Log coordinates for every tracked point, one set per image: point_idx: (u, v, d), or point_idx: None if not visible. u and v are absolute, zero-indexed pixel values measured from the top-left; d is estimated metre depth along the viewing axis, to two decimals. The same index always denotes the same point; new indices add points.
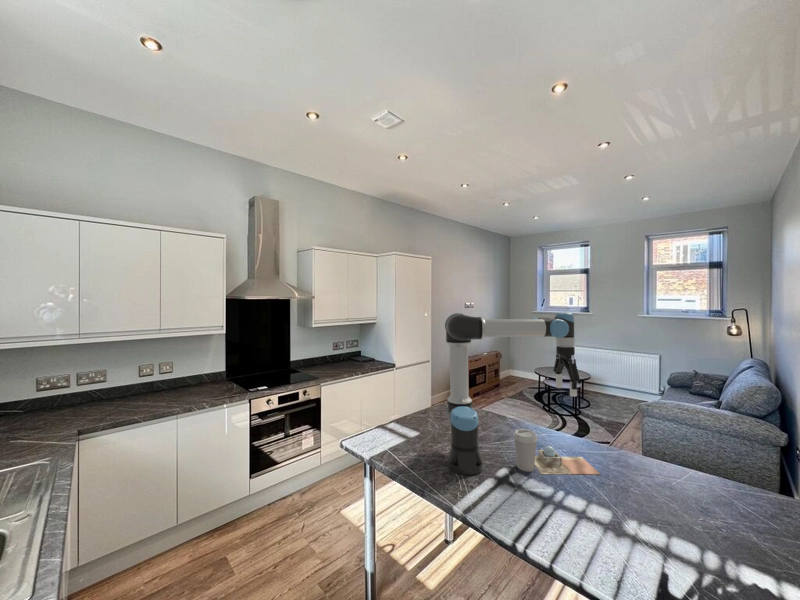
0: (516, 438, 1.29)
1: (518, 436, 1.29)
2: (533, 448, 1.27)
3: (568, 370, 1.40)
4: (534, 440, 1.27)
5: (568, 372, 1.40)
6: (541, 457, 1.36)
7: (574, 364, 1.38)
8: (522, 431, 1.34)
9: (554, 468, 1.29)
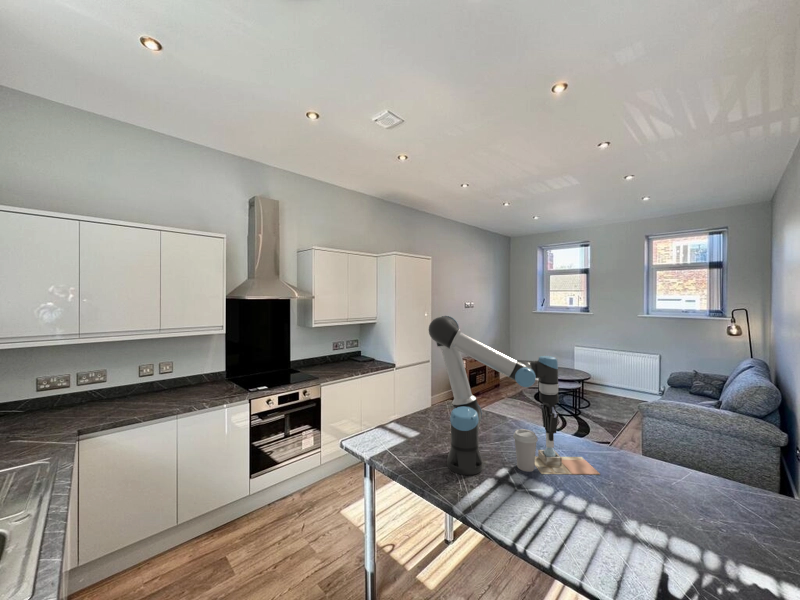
0: (516, 438, 1.29)
1: (518, 436, 1.29)
2: (533, 448, 1.27)
3: (548, 421, 1.34)
4: (534, 440, 1.27)
5: (547, 422, 1.34)
6: (541, 457, 1.36)
7: (555, 418, 1.30)
8: (522, 431, 1.34)
9: (554, 468, 1.29)
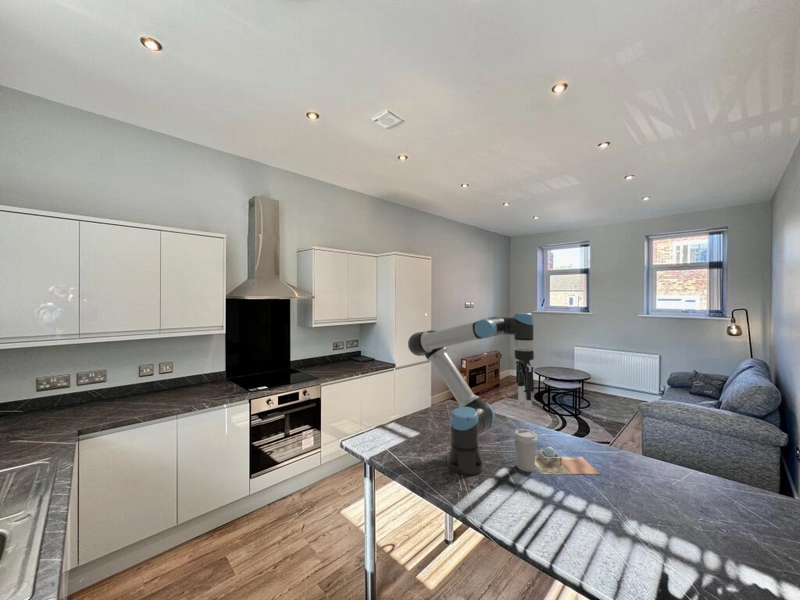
0: (516, 438, 1.29)
1: (518, 436, 1.29)
2: (533, 448, 1.27)
3: (524, 378, 1.28)
4: (534, 440, 1.27)
5: (524, 380, 1.28)
6: (541, 457, 1.36)
7: (531, 373, 1.25)
8: (522, 431, 1.34)
9: (554, 468, 1.29)
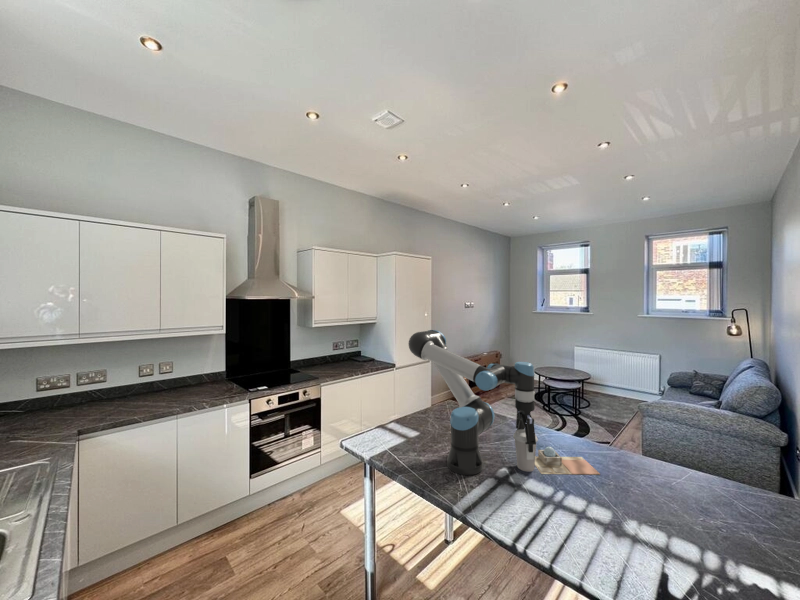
0: (516, 438, 1.29)
1: (518, 436, 1.29)
2: None
3: (525, 429, 1.27)
4: None
5: (525, 431, 1.27)
6: (541, 457, 1.36)
7: (532, 424, 1.24)
8: (522, 431, 1.34)
9: (554, 468, 1.29)
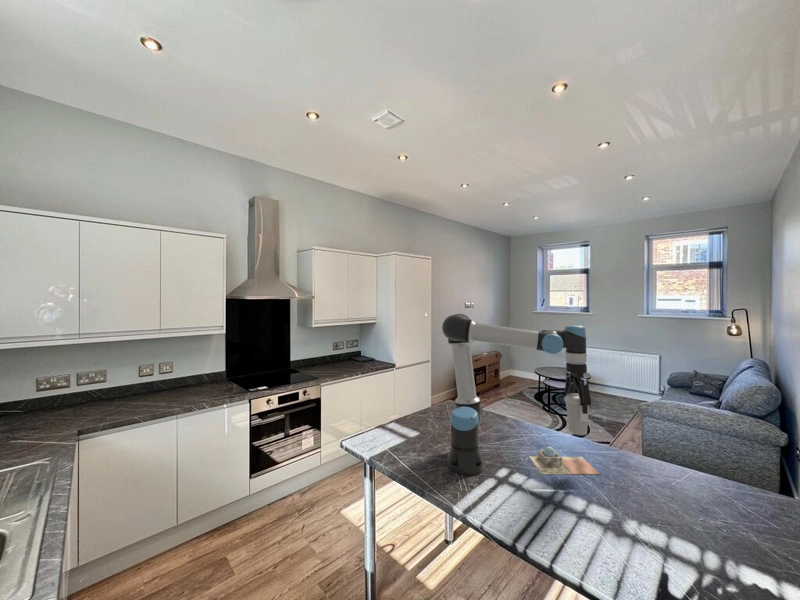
0: (568, 401, 1.29)
1: (571, 399, 1.28)
2: None
3: (579, 391, 1.26)
4: None
5: (579, 393, 1.26)
6: (541, 457, 1.36)
7: (586, 386, 1.24)
8: (573, 395, 1.34)
9: (554, 468, 1.29)
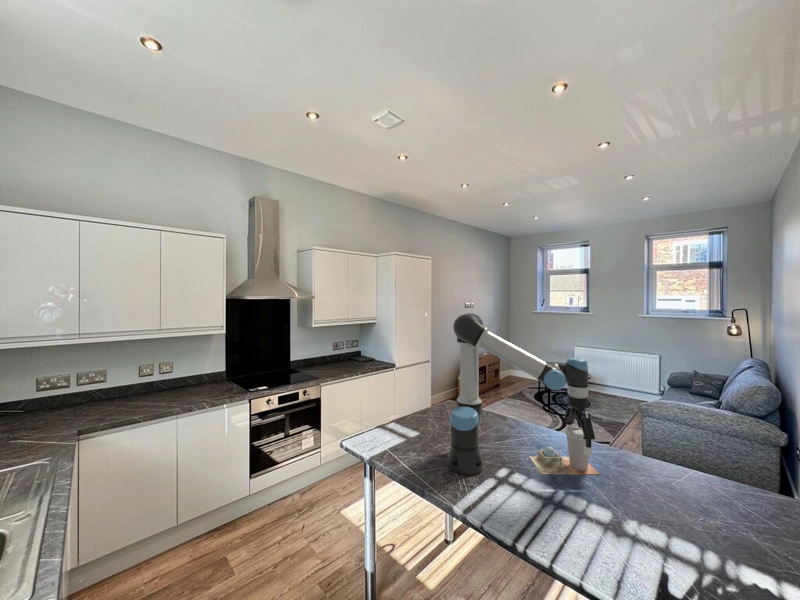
0: (570, 435, 1.29)
1: (572, 433, 1.29)
2: None
3: (581, 425, 1.25)
4: None
5: (581, 427, 1.25)
6: (541, 457, 1.36)
7: (588, 419, 1.23)
8: (574, 429, 1.34)
9: (554, 468, 1.29)
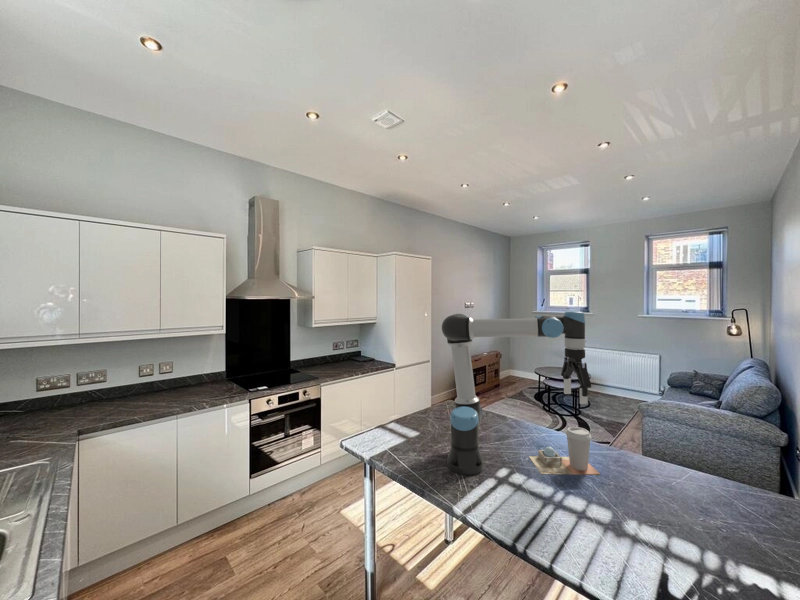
0: (570, 435, 1.29)
1: (572, 433, 1.28)
2: (588, 445, 1.27)
3: (578, 375, 1.26)
4: (589, 437, 1.27)
5: (578, 377, 1.26)
6: (541, 457, 1.36)
7: (585, 368, 1.24)
8: (574, 429, 1.34)
9: (554, 468, 1.29)
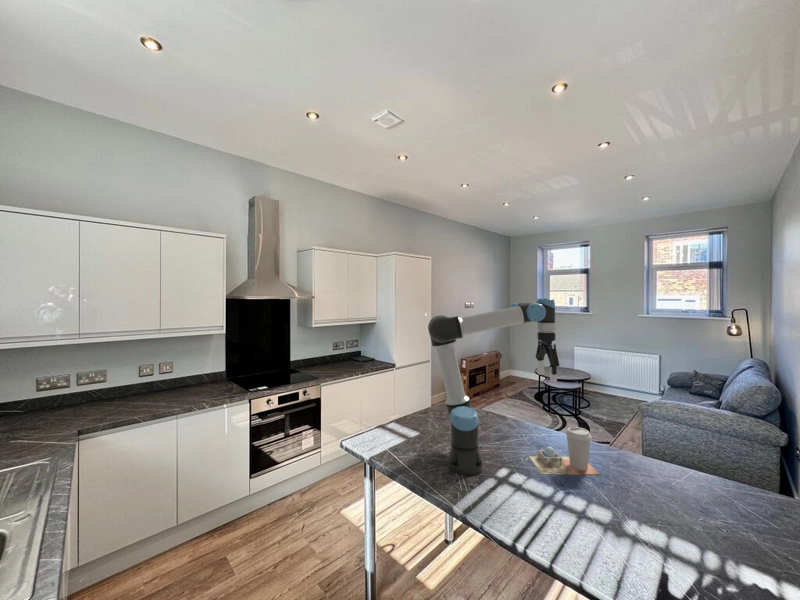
0: (570, 435, 1.29)
1: (572, 433, 1.28)
2: (588, 445, 1.27)
3: (548, 355, 1.39)
4: (589, 437, 1.27)
5: (548, 357, 1.39)
6: (541, 457, 1.36)
7: (554, 349, 1.37)
8: (574, 429, 1.34)
9: (554, 468, 1.29)
